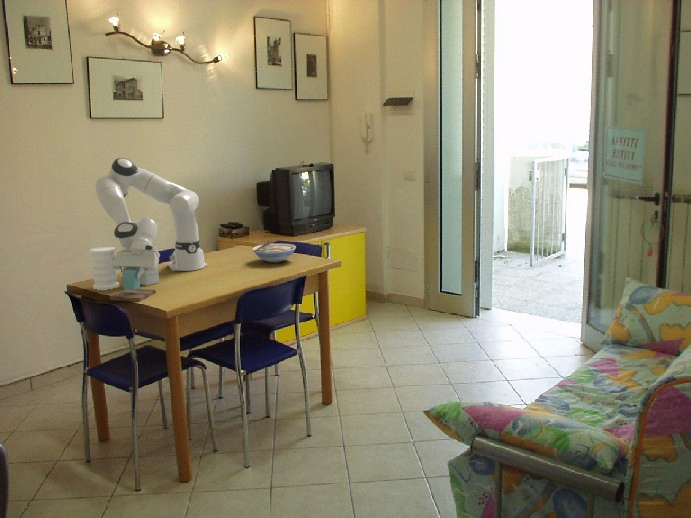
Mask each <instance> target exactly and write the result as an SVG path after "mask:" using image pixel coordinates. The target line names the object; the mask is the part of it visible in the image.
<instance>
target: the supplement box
mask: <svg viewBox="0 0 691 518" xmlns="http://www.w3.org/2000/svg"><path fill="white" fill-rule="evenodd" d="M139 271H140V270H139ZM158 283H160V277H159V266H158V267H157V269H156V270H155V271H147V270H145V272H144V273H143V274H142V275H141V276H140V285H141V284H142V286H151V285H154V284H155V285H156V284H158Z"/></svg>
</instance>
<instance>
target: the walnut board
mask: <svg viewBox="0 0 691 518" xmlns="http://www.w3.org/2000/svg"><path fill="white" fill-rule="evenodd" d="M156 293H157V291H156V289H147V288H146V289H145V288H137V289H135V290H126V289H123V290H121V291H119V292H116V293H115V294H112V295H111V296H109V301H115V302H116V301H117V302H118V301H119V302H137V301H138V302H142V301H144V300H145V299H147V298H149V297H151V296H153V295H154V294H156Z"/></svg>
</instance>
